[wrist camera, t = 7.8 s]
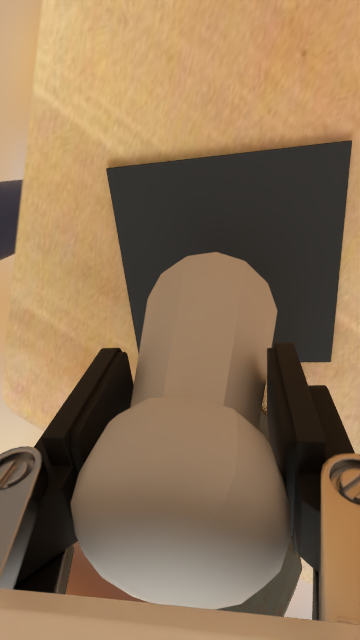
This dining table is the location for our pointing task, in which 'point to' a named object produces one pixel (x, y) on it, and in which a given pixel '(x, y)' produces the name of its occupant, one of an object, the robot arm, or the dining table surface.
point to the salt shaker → (191, 449)
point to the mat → (243, 229)
